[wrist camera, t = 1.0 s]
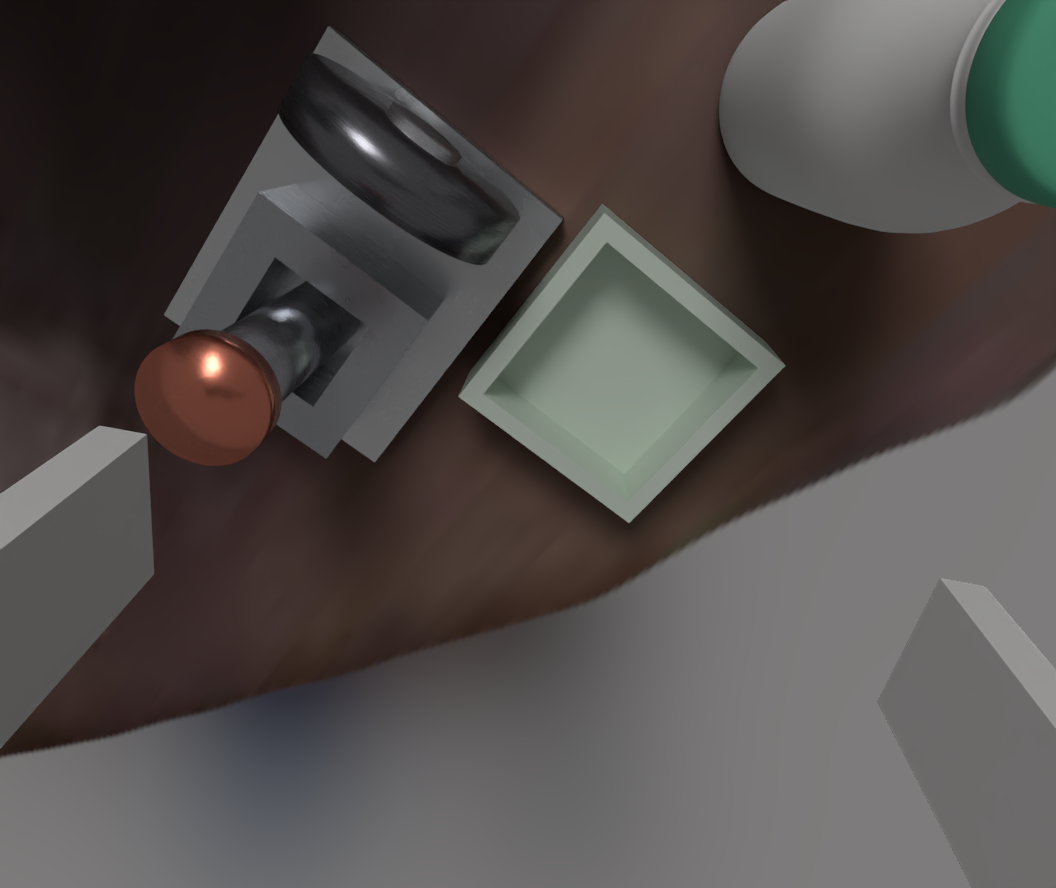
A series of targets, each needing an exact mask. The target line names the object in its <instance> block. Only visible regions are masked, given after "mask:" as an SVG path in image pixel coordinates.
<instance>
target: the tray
mask: <svg viewBox="0 0 1056 888" xmlns="http://www.w3.org/2000/svg"><path fill="white" fill-rule="evenodd" d="M784 367H785V364H784V363H783V362H782V361H781V360H780V358H779V357H778V356H777V355H776V353H775V352H774V351H773V350H772V349H771V347H770V346H769V345H768V344H767V343H766V342H765V341H764V340H763V339H762V338H761V337H759V336H758V335H757V334H756V333H755V332H754V331H752V330H751V329H750V328H749V327H748V326H746V325H745V324H744V323H743V322H742V321H741V320H739V319H738V318H737V317H736V316H735V315H733V314H732V313H731V312H730V311H729V310H727V309H726V308H725V307H724V306H723V305H722V304H720V303H719V302H718V301H717V300H716V299H714V298H713V297H712V296H711V295H710V294H709V293H707V292H706V291H705V290H704V289H703V288H701V287H700V286H699V285H698V284H697V283H696V282H694V281H693V280H692V279H691V278H690V277H688V276H687V275H686V274H685V273H684V272H683V271H681V270H680V269H679V268H678V267H677V266H675V265H674V264H673V263H672V262H671V261H670V260H668V259H667V258H666V257H665V256H664V255H662V254H661V253H660V252H659V251H658V250H657V249H655V248H654V247H653V246H652V245H651V244H649V243H648V242H647V241H646V240H645V239H644V238H642V237H641V236H640V235H639V234H638V233H636V232H635V231H634V230H633V229H632V228H631V227H629V226H628V225H627V224H626V223H625V222H623V221H622V220H621V219H620V218H619V217H618V216H616V215H615V214H614V213H613V212H612V211H610V210H609V209H608V208H607V207H606V206H605V205H603V204H602V205H601V206H600V207H599V208H598V210H597V211H596V212H595V213H594V215H593V216H592V217H591V219H590V220H589V221H588V222H587V224H586V225H585V226H584V227H583V229H582V230H581V231H580V232H579V234H578V235H577V236H576V238H575V239H574V240H573V241H572V243H571V244H570V245H569V246H568V248H567V249H566V250H565V251H564V253H563V254H562V255H561V257H560V258H559V259H558V260H557V262H556V263H555V264H554V265H553V267H552V268H551V269H550V270H549V272H548V273H547V274H546V275H545V277H544V278H543V279H542V281H541V282H540V283H539V284H538V286H537V287H536V288H535V289H534V291H533V292H532V293H531V294H530V296H529V297H528V298H527V300H526V301H525V302H524V303H523V305H522V306H521V307H520V308H519V310H518V311H517V312H516V313H515V315H514V316H513V317H512V319H511V320H510V321H509V322H508V324H507V325H506V326H505V327H504V329H503V330H502V331H501V332H500V334H499V335H498V336H497V338H496V339H495V340H494V341H493V343H492V344H491V345H490V346H489V348H488V349H487V350H486V351H485V353H484V354H483V355H482V357H481V358H480V359H479V360H478V362H477V363H476V364H475V365H474V367H473V368H472V369H471V370H470V372H469V374H468V376H467V378H466V381H465V383H464V385H463V387H462V390H461V392H460V394H459V396H458V397H459V398H461V399H462V400H463V401H465V402H466V403H468V404H469V405H470V406H472V407H473V408H474V409H476V410H477V411H478V412H480V413H481V414H482V415H484V416H485V417H486V418H488V419H489V420H490V421H492V422H493V423H495V424H496V425H497V426H499V427H500V428H501V429H503V430H504V431H505V432H507V433H508V434H509V435H511V436H512V437H513V438H515V439H516V440H517V441H519V442H520V443H522V444H523V445H524V446H526V447H527V448H528V449H530V450H531V451H532V452H534V453H535V454H536V455H538V456H539V457H540V458H542V459H543V460H544V461H546V462H547V463H548V464H550V465H551V466H553V467H554V468H555V469H557V470H558V471H559V472H561V473H562V474H563V475H565V476H566V477H567V478H569V479H570V480H571V481H573V482H574V483H575V484H577V485H578V486H580V487H581V488H582V489H584V490H585V491H586V492H588V493H589V494H590V495H592V496H593V497H594V498H596V499H597V500H598V501H600V502H601V503H602V504H604V505H605V506H607V507H608V508H609V509H611V510H612V511H613V512H615V513H616V514H617V515H619V516H620V517H621V518H623V519H624V520H625V521H627V522H628V523H630V522H631V521H632V520H633V519H634V518H635V517H636V516H637V515H638V514H639V513H640V512H641V511H642V510H643V509H644V508H645V507H646V506H647V505H648V504H649V503H650V502H651V501H652V500H653V499H654V498H655V497H656V496H657V495H658V494H659V493H660V492H661V491H662V490H663V489H664V488H665V487H666V486H667V485H668V484H669V483H670V482H671V481H672V480H673V479H674V478H675V477H676V476H677V475H678V474H679V473H680V472H681V471H682V470H683V469H684V468H685V467H686V466H687V464H688V463H689V462H690V461H691V460H692V459H693V458H694V457H695V456H696V455H697V454H698V453H699V452H700V451H701V450H702V449H703V448H704V447H705V446H706V445H707V444H708V443H709V442H710V441H711V440H712V439H713V438H714V437H715V436H716V435H717V434H718V433H719V432H720V431H721V430H722V429H723V428H724V427H725V426H726V425H727V424H728V423H729V422H730V421H731V420H732V419H733V418H734V417H735V416H736V415H737V414H738V413H739V412H740V411H741V410H742V409H743V408H744V407H745V406H746V405H747V404H748V403H749V402H750V401H751V400H752V399H753V398H754V397H755V396H756V395H757V394H758V393H759V392H760V391H761V390H762V389H763V388H764V387H765V386H766V385H767V384H768V383H769V382H770V381H771V380H772V379H773V378H774V377H775V376H776V375H777V374H778V373H779V372H780V371H781V370H782V369H783V368H784Z"/></svg>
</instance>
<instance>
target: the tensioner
mask: <svg viewBox="0 0 1056 888" xmlns="http://www.w3.org/2000/svg"><path fill="white" fill-rule="evenodd" d="M278 113H279V114H278V115H277V117H276V119H275V121H274V122H273V124H272V126H271V128H270V129H269V131H268V133H267V135H266V136H265V138H264V140H263V142H262V143H261V145H260V147H259V149H258V150H257V152H256V154H255V156H254V157H253V159H252V161H251V163H250V164H249V166H248V168H247V170H246V172H245V173H244V175H243V177H242V179H241V180H240V182H239V184H238V186H237V187H236V189H235V191H234V193H233V194H232V196H231V198H230V200H229V201H228V203H227V205H226V207H225V208H224V210H223V212H222V214H221V215H220V217H219V219H218V221H217V222H216V224H215V226H214V228H213V229H212V231H211V233H210V235H209V236H208V238H207V240H206V242H205V243H204V245H203V247H202V249H201V250H200V252H199V254H198V256H197V257H196V259H195V261H194V263H193V265H192V266H191V268H190V270H189V272H188V273H187V275H186V277H185V279H184V280H183V282H182V284H181V286H180V287H179V289H178V291H177V293H176V294H175V296H174V298H173V300H172V301H171V303H170V305H169V307H168V308H167V310H166V312H165V314H164V315H165V316H166V317H167V318H169V319H170V320H172V321H173V322H175V323H176V324H177V325H179V326H180V327H179V329H178V331H177V332H176V334H175V336H174V337H173V339H174V338H176V337H178V336H180V335H182V334H184V333H187V332H190V331H194V330H201V329H211V330H218V331H221V330H223V329H225V328H227V327H228V326H230V325H232V324H233V323H235V322H237V321H239V320H240V319H242V318H244V317H246V316H247V315H249V314H251V313H252V312H254V311H256V310H258V309H259V308H261V307H263V306H264V305H266V304H268V303H270V302H271V301H273V300H275V299H277V298H278V297H280V296H282V295H283V294H285V293H287V292H289V291H290V290H292V289H294V288H296V287H297V286H299V285H301V284H302V283H304V282H306V281H308V282H309V283H310V284H312V285H313V286H314V287H316V288H317V289H318V290H320V291H321V292H322V293H324V294H325V295H326V296H328V297H329V298H330V299H332V300H333V301H335V302H336V303H337V304H339V305H340V306H341V307H343V308H344V309H345V310H347V311H348V312H349V313H351V314H352V315H353V316H355V317H356V318H357V319H359V325H358V328H357V330H356V332H355V333H354V335H353V336H352V337H351V338H350V339H349V340H348V341H347V342H346V343H345V344H343V345H342V346H341V347H340V348H339V349H338V350H337V351H336V352H335V353H334V354H333V355H332V356H331V357H330V358H329V359H327V360H326V361H325V362H324V363H323V364H322V365H321V366H320V367H319V368H318V369H317V370H316V371H315V372H314V373H312V374H311V375H310V376H309V377H308V378H307V379H306V380H305V381H304V382H303V383H302V384H301V385H300V386H299V387H297V388H296V389H295V390H294V391H293V392H292V393H291V394H290V395H289V396H288V397H287V398H286V399H285V400H284V401H282V405H281V413H280V417H279V420H278V422H277V424H276V425H278V426H279V427H281V428H282V429H284V430H285V431H287V432H288V433H289V434H291V435H292V436H294V437H295V438H297V439H298V440H300V441H301V442H302V443H304V444H305V445H307V446H308V447H310V448H311V449H313V450H314V451H316V452H317V453H318V454H320V455H321V456H323V457H324V458H326V459H327V457H328V456H329V455H330V453H331V452H332V451H333V449H334V448H335V447H336V445H337V444H338V443H339V442H340V440H341V439H342V440H343V441H345V442H346V443H348V444H349V445H350V446H352V447H353V448H355V449H356V450H358V451H359V452H360V453H362V454H363V455H365V456H366V457H368V458H369V459H370V460H372V461H373V462H376V460H377V459H378V458H379V456H380V455H381V454H382V453H383V451H384V450H385V449H386V447H387V446H388V445H389V444H390V442H391V441H392V440H393V438H394V437H395V436H396V435H397V433H398V432H399V431H400V429H401V428H402V427H403V425H404V424H405V423H406V422H407V420H408V419H409V418H410V416H411V415H412V414H413V413H414V411H415V410H416V409H417V407H418V406H419V405H420V404H421V402H422V401H423V400H424V398H425V397H426V396H427V394H428V393H429V392H430V391H431V389H432V388H433V387H434V385H435V384H436V383H437V382H438V380H439V379H440V378H441V376H442V375H443V374H444V373H445V371H446V370H447V369H448V367H449V366H450V365H451V363H452V362H453V361H454V360H455V358H456V357H457V356H458V354H459V353H460V352H461V351H462V349H463V348H464V347H465V345H466V344H467V343H468V341H469V340H470V339H471V338H472V336H473V335H474V334H475V332H476V331H477V330H478V329H479V327H480V326H481V325H482V323H483V322H484V321H485V320H486V318H487V317H488V316H489V314H490V313H491V312H492V310H493V309H494V308H495V307H496V305H497V304H498V303H499V301H500V300H501V299H502V298H503V296H504V295H505V294H506V292H507V291H508V290H509V289H510V287H511V286H512V285H513V283H514V282H515V281H516V279H517V278H518V277H519V276H520V274H521V273H522V272H523V270H524V269H525V268H526V267H527V265H528V264H529V263H530V261H531V260H532V259H533V258H534V256H535V255H536V254H537V252H538V251H539V250H540V248H541V247H542V246H543V245H544V243H545V242H546V241H547V239H548V238H549V237H550V236H551V234H552V233H553V232H554V230H555V229H556V228H557V227H558V225H559V224H560V223H561V221H562V220H563V216H562V215H561V214H559V213H558V212H557V211H556V210H555V209H553V208H552V207H551V206H550V205H549V204H547V203H546V202H545V201H544V200H543V199H541V198H540V197H539V196H538V195H537V194H535V193H534V192H533V191H532V190H530V189H529V188H528V187H527V186H526V185H524V184H523V183H522V182H521V181H520V180H518V179H517V178H516V177H515V176H514V175H512V174H511V173H510V172H509V171H508V170H506V169H505V168H504V167H503V166H502V165H500V164H499V163H498V162H497V161H496V160H494V159H493V158H492V157H491V156H490V155H488V154H487V153H486V152H485V151H483V150H482V149H481V148H480V147H479V146H477V145H476V144H475V143H474V142H473V141H471V140H470V139H469V138H468V137H467V136H465V135H464V134H463V133H462V132H461V131H459V130H458V129H457V128H456V127H455V126H453V125H452V124H451V123H450V122H449V121H447V120H446V119H445V118H444V117H443V116H441V115H440V114H439V113H438V112H437V111H435V110H434V109H433V108H432V107H430V106H429V105H428V104H427V103H426V102H424V101H423V100H422V99H421V98H420V97H418V96H417V95H416V94H415V93H414V92H412V91H411V90H410V89H409V88H408V87H406V86H405V85H404V84H403V83H402V82H400V81H399V80H398V79H397V78H396V77H394V76H393V75H392V74H391V73H390V72H388V71H387V70H386V69H385V68H383V67H382V66H381V65H380V64H379V63H377V62H376V61H375V60H374V59H373V58H371V57H370V56H369V55H368V54H367V53H365V52H364V51H363V50H362V49H361V48H359V47H358V46H357V45H356V44H355V43H353V42H352V41H351V40H350V39H349V38H347V37H346V36H345V35H344V34H343V33H341V32H340V31H339V30H338V29H335V28H332V27H330V26H328V28H327V29H326V31H325V33H324V35H323V36H322V38H321V40H320V42H319V43H318V45H317V47H316V49H315V50H314V52H313V53H311V54H309V55H308V56H307V58H306V60H305V62H304V63H303V65H302V67H301V69H300V70H299V72H298V74H297V76H296V78H295V79H294V81H293V83H292V85H291V86H290V88H289V90H288V92H287V93H286V95H285V97H284V99H283V100H282V102H281V104H280V106H279V108H278Z"/></svg>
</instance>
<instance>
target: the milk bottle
mask: <svg viewBox="0 0 1056 888" xmlns="http://www.w3.org/2000/svg"><path fill="white" fill-rule="evenodd" d="M719 123H720V129H721V135H722V138H723V142H724V145H725V147H726V150H727V152H728V154H729V156H730V158H731V160H732V161H733V163H734V164H735V166H736V167H737V169H738V170H739V171H740V172H741V173H742V175H743V176H745V177H746V178H747V179H748V180H749V181H750V182H751V183H753V184H754V185H755V186H757V187H759V188H760V189H762V190H764V191H765V192H767V193H769V194H771V195H773V196H776V197H778V198H780V199H783V200H785V201H788V202H790V203H793V204H795V205H798V206H801V207H803V208H806V209H808V210H811V211H814V212H817V213H819V214H822V215H825V216H828V217H831V218H833V219H836V220H839V221H842V222H845V223H848V224H852V225H856V226H860V227H864V228H868V229H872V230H877V231H882V232H891V233H929V232H937V231H942V230H948V229H953V228H958V227H962V226H965V225H969V224H972V223H975V222H978V221H980V220H983V219H985V218H988V217H990V216H993V215H995V214H997V213H999V212H1002V211H1004V210H1006V209H1008V208H1010V207H1011V206H1013V205H1015V204H1017V203H1018V202H1020V201H1021V202H1025V203H1033V204H1040V205H1044V206H1047V207H1052V208H1056V0H786V1H785V2H783V3H782V4H780V5H779V6H777V7H776V8H774V9H773V10H772V11H770V12H769V13H768V14H767V15H765V16H764V17H763V18H762V19H761V20H760V21H759V22H758V23H757V24H756V25H755V26H754V27H753V28H752V29H751V30H750V31H749V32H748V33H747V35H746V36H745V37H744V39H743V40H742V41H741V43H740V44H739V46H738V47H737V49H736V51H735V53H734V54H733V56H732V58H731V60H730V63H729V65H728V67H727V70H726V73H725V75H724V79H723V83H722V87H721V92H720V99H719Z"/></svg>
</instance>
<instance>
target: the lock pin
mask: <svg viewBox="0 0 1056 888" xmlns="http://www.w3.org/2000/svg"><path fill="white" fill-rule="evenodd" d="M358 325H359V319H357V318H356V317H355V316H353V315H352V314H351V313H349V312H348V311H347V310H345V309H344V308H343V307H341V306H340V305H339V304H337V303H336V302H335V301H333V300H332V299H330V298H329V297H328V296H326V295H325V294H324V293H322V292H321V291H320V290H318V289H317V288H316V287H314V286H313V285H312V284H310V283H309V282H308V281H306V282H304V283H302V284H301V285H299V286H297V287H296V288H294V289H292V290H290V291H289V292H287V293H285V294H283V295H282V296H280V297H278V298H277V299H275V300H273V301H271V302H270V303H268V304H266V305H264V306H263V307H261V308H259V309H258V310H256V311H254V312H252V313H251V314H249V315H247V316H246V317H244V318H242V319H240V320H239V321H237V322H235V323H233V324H232V325H230V326H228V327H227V328H225V329H223V330H221V331H218V330H211V329H201V330H194V331H190V332H187V333H184V334H182V335H180V336H178V337H176V338H174V339H172V340H170V341H169V342H167V343H165V344H163V345H161V346H159V347H157V348H156V349H155V350H153V351H152V352H151V353H150V354H149V355H148V356H147V357H146V358H145V359H144V360H143V362H142V363H141V365H140V367H139V369H138V372H137V375H136V379H135V386H134V391H135V401H136V405H137V409H138V412H139V414H140V417H141V419H142V421H143V423H144V424H145V426H146V428H147V429H148V430H149V432H150V433H151V435H152V436H153V437H154V438H155V439H156V440H157V441H158V442H159V443H160V444H161V445H162V446H163V447H165V448H166V449H167V450H169V451H170V452H171V453H173V454H175V455H177V456H178V457H180V458H182V459H185V460H187V461H190V462H193V463H196V464H201V465H207V466H222V465H228V464H232V463H235V462H237V461H240V460H242V459H243V458H245V457H247V456H248V455H249V454H250V453H252V452H253V451H254V450H255V449H256V448H257V447H258V446H259V445H260V444H261V443H262V442H263V441H264V440H265V439H266V438H267V437H268V436H269V435H270V433H271V432H272V431H273V430H274V428H275V426H276V424H277V422H278V420H279V417H280V413H281V405H282V401H284V400H285V399H286V398H287V397H288V396H289V395H290V394H291V393H292V392H293V391H294V390H295V389H296V388H297V387H299V386H300V385H301V384H302V383H303V382H304V381H305V380H306V379H307V378H308V377H309V376H310V375H311V374H312V373H314V372H315V371H316V370H317V369H318V368H319V367H320V366H321V365H322V364H323V363H324V362H325V361H326V360H327V359H329V358H330V357H331V356H332V355H333V354H334V353H335V352H336V351H337V350H338V349H339V348H340V347H341V346H342V345H343V344H345V343H346V342H347V341H348V340H349V339H350V338H351V337H352V336H353V335H354V333H355V332H356V330H357V328H358Z"/></svg>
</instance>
